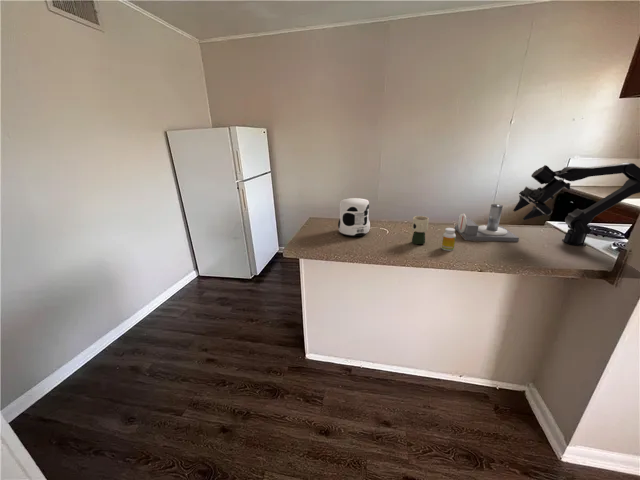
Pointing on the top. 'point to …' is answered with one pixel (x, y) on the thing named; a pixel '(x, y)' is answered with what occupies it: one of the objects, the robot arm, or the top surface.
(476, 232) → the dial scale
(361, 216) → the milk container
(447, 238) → the supplement bottle
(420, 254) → the top surface
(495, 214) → the ball
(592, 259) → the top surface
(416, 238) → the character mug
